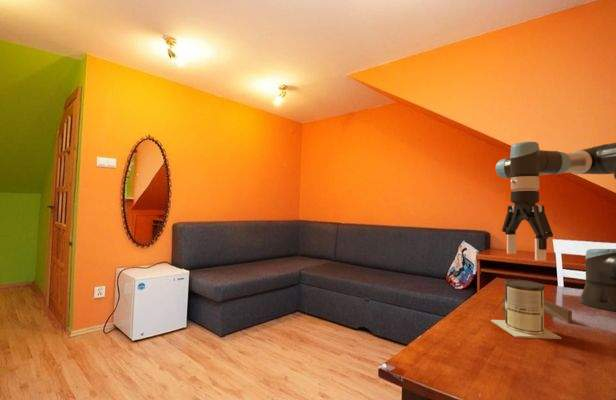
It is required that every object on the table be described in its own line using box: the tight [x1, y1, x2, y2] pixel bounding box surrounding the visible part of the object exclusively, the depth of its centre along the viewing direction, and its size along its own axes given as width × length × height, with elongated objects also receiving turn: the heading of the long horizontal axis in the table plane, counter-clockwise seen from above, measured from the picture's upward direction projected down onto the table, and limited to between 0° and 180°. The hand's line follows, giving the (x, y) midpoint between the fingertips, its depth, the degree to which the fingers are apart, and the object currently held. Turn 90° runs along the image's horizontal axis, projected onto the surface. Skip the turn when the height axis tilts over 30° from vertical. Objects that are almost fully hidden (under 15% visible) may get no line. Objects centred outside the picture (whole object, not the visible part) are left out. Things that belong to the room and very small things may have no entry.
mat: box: [490, 319, 562, 340], centre depth 96 cm, size 13×13×1 cm
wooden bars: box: [501, 297, 573, 324], centre depth 109 cm, size 15×13×4 cm
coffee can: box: [504, 278, 545, 334], centre depth 96 cm, size 10×10×14 cm
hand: (525, 257), depth 97 cm, fingers open, 13 cm apart
